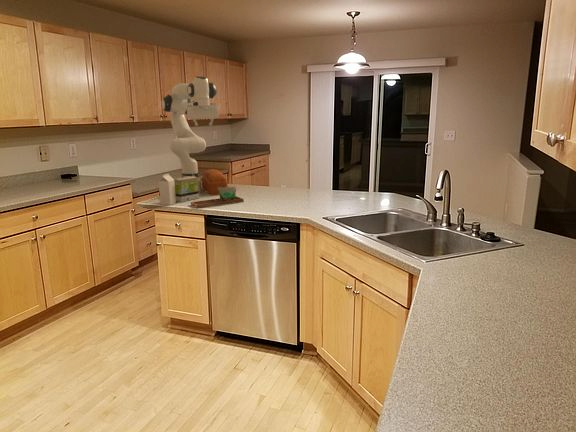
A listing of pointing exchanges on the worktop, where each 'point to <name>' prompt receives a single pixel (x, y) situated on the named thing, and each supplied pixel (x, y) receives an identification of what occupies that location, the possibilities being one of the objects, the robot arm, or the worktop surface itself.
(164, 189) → the milk carton
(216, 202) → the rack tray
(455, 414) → the worktop surface
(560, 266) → the worktop surface
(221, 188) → the food container
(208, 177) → the bread
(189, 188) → the tea box
